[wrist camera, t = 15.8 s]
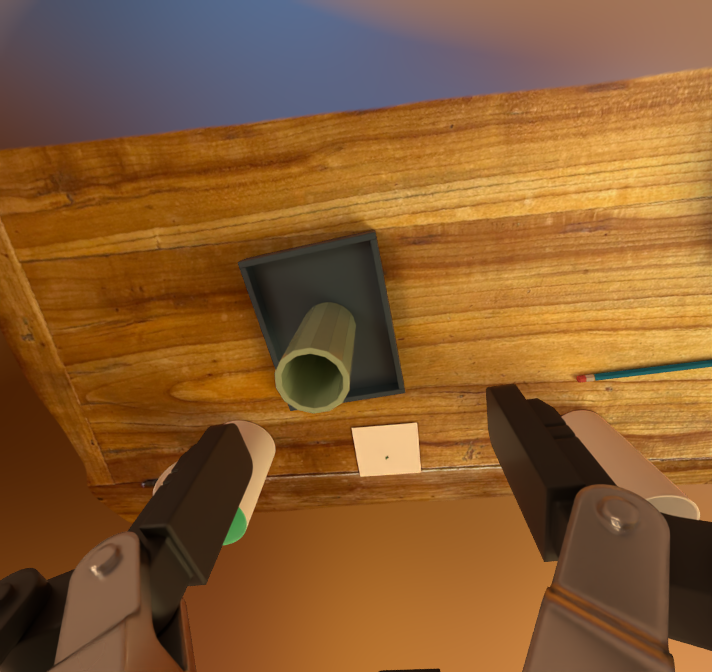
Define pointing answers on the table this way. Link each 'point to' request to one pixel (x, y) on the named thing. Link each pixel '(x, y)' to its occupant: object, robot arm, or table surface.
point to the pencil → (645, 371)
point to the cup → (318, 360)
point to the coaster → (387, 449)
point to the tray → (330, 284)
